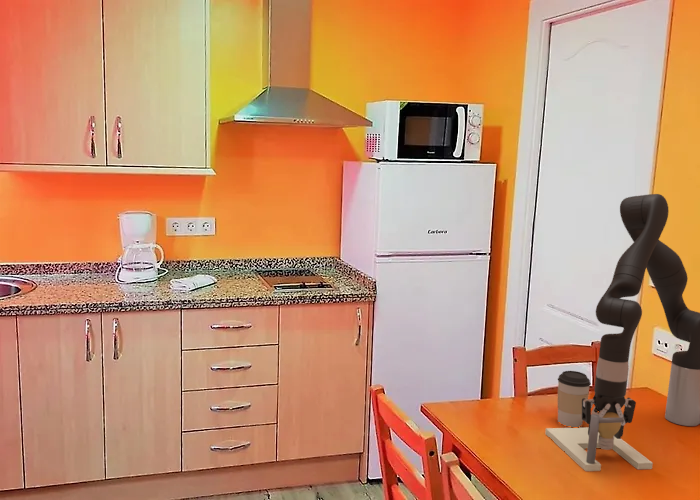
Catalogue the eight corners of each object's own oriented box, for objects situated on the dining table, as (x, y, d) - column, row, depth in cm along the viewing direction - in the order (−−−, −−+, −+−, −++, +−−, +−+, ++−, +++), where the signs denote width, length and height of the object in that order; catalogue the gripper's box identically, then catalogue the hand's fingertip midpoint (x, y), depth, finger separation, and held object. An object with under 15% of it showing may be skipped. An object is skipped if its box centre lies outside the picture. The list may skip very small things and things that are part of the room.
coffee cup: (582, 418, 201) (587, 369, 198) (589, 430, 192) (595, 379, 189) (550, 415, 201) (555, 367, 199) (557, 427, 193) (562, 377, 190)
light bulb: (606, 455, 170) (609, 417, 169) (586, 445, 176) (589, 408, 174) (624, 450, 173) (627, 413, 172) (604, 440, 179) (607, 404, 177)
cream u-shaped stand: (605, 432, 191) (610, 386, 189) (652, 468, 170) (658, 417, 168) (545, 433, 188) (549, 386, 186) (585, 471, 166) (591, 418, 164)
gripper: (629, 370, 177) (622, 431, 180) (578, 371, 175) (571, 432, 177) (646, 380, 170) (638, 443, 172) (593, 381, 167) (586, 445, 170)
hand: (604, 437), depth 175 cm, fingers closed on light bulb, 6 cm apart
